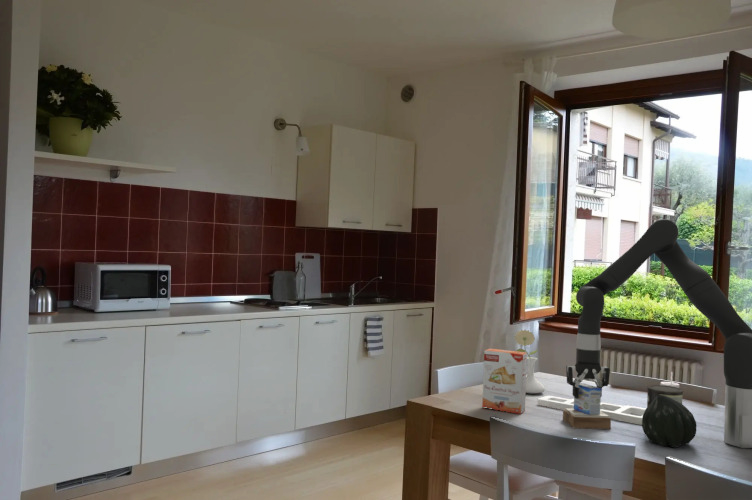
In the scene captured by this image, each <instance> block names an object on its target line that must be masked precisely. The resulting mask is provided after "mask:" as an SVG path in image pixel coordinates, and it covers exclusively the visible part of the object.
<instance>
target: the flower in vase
mask: <svg viewBox="0 0 752 500" xmlns="http://www.w3.org/2000/svg"><path fill="white" fill-rule="evenodd" d="M514 340H515V341H516V344H518V345H521V346H523V347H526V346H531V345H533V344H534V342H535V341H536V338H535V335H534V334H533V332H531V331H530V330H526V329H524V330H523V329H521V330H519V331H516V334H515V335H514ZM516 351H517V352H526V353H527V364H526V365H527V374H526V394H541V393H543V392H545V391H546V389H545V387H544V385H543V384H542V383H541V382H540V381H538V379H536V377H535V372H534V371H535V365H536V362H537V361H538V357H532V356H530V355H534V354H536V353H537V352H538V351H539V349H536V350H533V351H530V352H529V353H528V351H527V350H526V348H523V349H522V348H517V350H516Z"/></svg>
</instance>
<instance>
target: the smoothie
mask: <svg viewBox="0 0 752 500" xmlns="http://www.w3.org/2000/svg"><path fill="white" fill-rule="evenodd" d="M673 375H674V372H673V371H670V381H660V384H659V385H666V386H673V387H677V388H680V384H679V383H677V382H674V381H673Z"/></svg>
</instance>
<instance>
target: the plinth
mask: <svg viewBox="0 0 752 500" xmlns="http://www.w3.org/2000/svg"><path fill="white" fill-rule="evenodd" d="M562 421H564V422H565V423H566V424H568V426H570V427H571V428H573V429H590V430H591V429H592V430H593V429H595V430H601V429H602V430H610V429H612V427H611V425H612V419H611V418H610V417H609V416H608V415H606V414H605V413H603V412H601V411H600V414H598V415H588V414H585V413H582V412H579V411H577V410H574V409H572V408H565V410H562Z"/></svg>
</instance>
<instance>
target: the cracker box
mask: <svg viewBox="0 0 752 500" xmlns="http://www.w3.org/2000/svg"><path fill="white" fill-rule="evenodd" d="M483 352H484V353H483V379H482V380H483V381H482V403H481V405H482V407H487V408H492V409H495V410H494V411H498V410H500V411H499V412H504V411H506V412H505V413H510V412H511V413H512V414H517V415H521V414H522V413H524V412H525V411H526V394H527V393H526V377H527V365H528V364H527V357H528V355H527V353H528V352H527V353H526V351H525V352H517V350H515V351H514V350H508V349H507V350H506V349H499V348H490V347H489V348H487V349H485V350H484V351H483ZM511 413H510V414H511Z"/></svg>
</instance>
